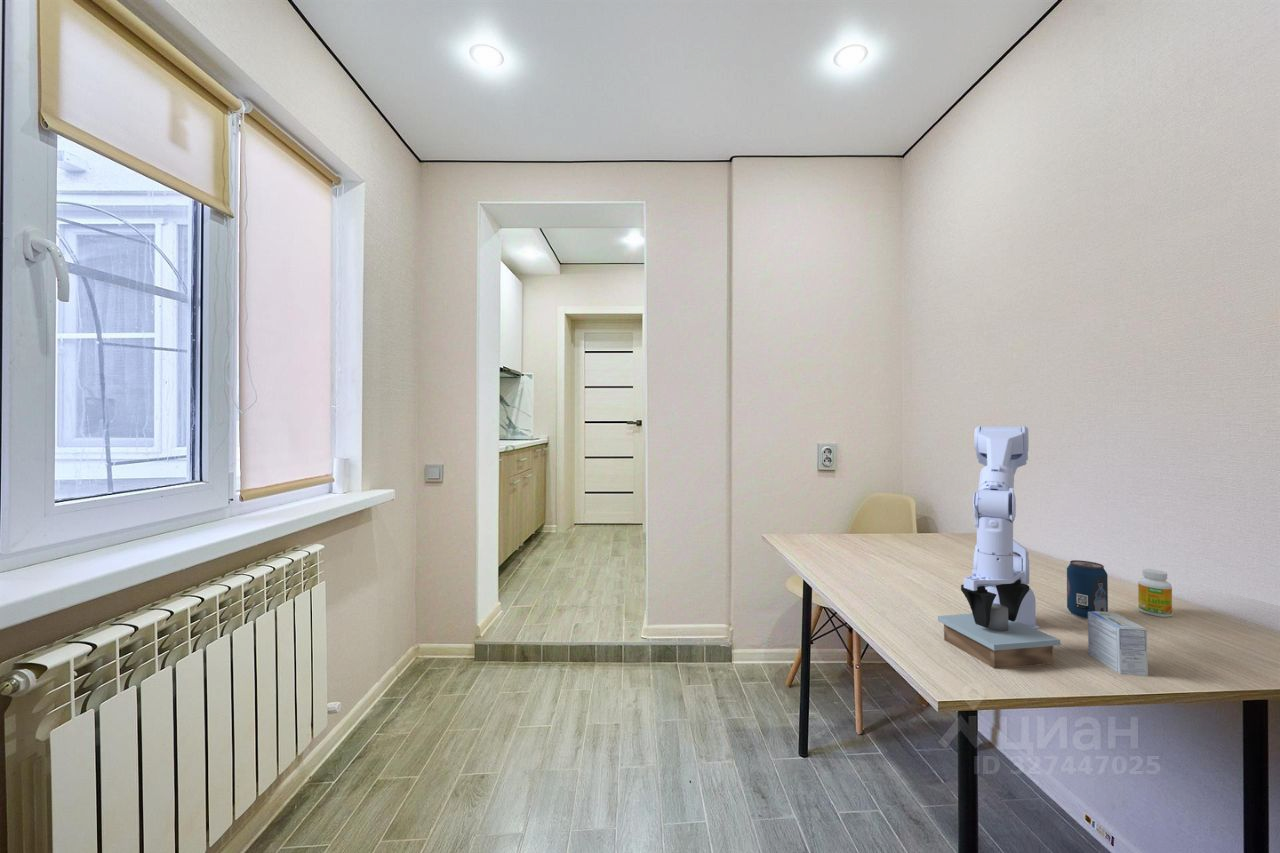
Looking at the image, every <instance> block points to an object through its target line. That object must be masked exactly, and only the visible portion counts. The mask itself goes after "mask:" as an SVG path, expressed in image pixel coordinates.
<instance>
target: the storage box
mask: <svg viewBox="0 0 1280 853" xmlns="http://www.w3.org/2000/svg"><path fill="white" fill-rule="evenodd" d="M943 632H944V633H943V640H944V641H945V642H947V643H948V644H951V645H952V646H954V647H955V648H957V649H959V650H961V651H963V652H965V653H966V654H968V655H970V656H971V657H973V658H974V659H977V660H979V661H981V662H982V663H983V664H985V665H987V666H989V667H990V668H992V669H994V670H995V669H1006V668H1019V667H1029V666H1030V667H1031V666H1041V665H1053V664H1054V650H1053V649H1054V646H1046V647H1033V648H1021V649H1008V650H996V651H994V650H992V649H990V648H988V647H986V646H984V645H983V644H981V643H979V642H977V641H975V640H973V639H971V638H969V637H967V636H966V635H964V634H962V633H960V632H958V631H956V630H954V629H952V628H950V627H949V626H947V625H945V624H943Z"/></svg>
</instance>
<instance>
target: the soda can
mask: <svg viewBox="0 0 1280 853" xmlns="http://www.w3.org/2000/svg"><path fill="white" fill-rule="evenodd" d="M1108 581H1109V580H1108V573H1107V571H1106V570H1105V566H1104V565H1103V564H1102V563H1097V562H1095V561H1093V562H1092V561H1088V560H1077V559H1075V560H1070V561H1069V564H1068V566H1066V607H1067V610H1068V611H1069V612H1070V613H1071V615H1073V617H1077V618H1080V619H1083V620H1087V621H1088V612H1092V611H1100V612H1109V600H1108V599H1109V597H1108V596H1109V594H1108V593H1109V592H1108V591H1109V590H1108V584H1109V583H1108Z"/></svg>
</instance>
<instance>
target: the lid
mask: <svg viewBox="0 0 1280 853" xmlns="http://www.w3.org/2000/svg"><path fill="white" fill-rule="evenodd" d="M937 622H940V623H941V624H943V625H944V624H945V625H947V626H949V627H950V628H952V629H954V630H956V631H958V632H960V633H962V634H964V635H966V636H967V637H969V638H971V639H973V640H975V641H977V642H979V643H981V644H983V645H984V646H986V647H988V648H990V649H992V650H994V651H996V650H1008V649H1021V648H1033V647H1046V646H1053V647H1056V646H1057V647H1058V646H1061V639H1060V638H1058V637H1054V636H1053V635H1050V634H1048V633H1046V632H1044V631H1041V630H1039V629H1038V628H1032V627H1030V626H1028V625H1025V624H1023V623H1021V622H1018V621H1016V620H1015V621H1010V620H1008V608H1007V607H1006V606H1004V605H1000V604H996V603H993V604H992V607H991V612H990V623H989V626H988V627H986V628H985V627H983V626H980V625H977V624H975V620H974V617H973V614H972V613H962V614H960V613H959V614H950V615H949V614H948V615H937Z"/></svg>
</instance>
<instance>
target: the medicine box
mask: <svg viewBox="0 0 1280 853" xmlns="http://www.w3.org/2000/svg"><path fill="white" fill-rule="evenodd" d="M1147 630H1148V629H1147V628H1146V627H1144V626H1141V625H1140V624H1138V623H1136V622H1134V621H1132V620H1130V619H1128V618H1126V617H1124V616H1122V615H1119V614H1118V613H1116V612H1112V611H1108V612H1100V611H1092V612H1088V620H1087V632H1088V634H1087V635H1088V636H1087V638H1088V641H1087V642H1088V644H1087V645H1088V654H1089V655H1090V656H1091V657H1092V658H1095V659H1096V660H1098V662H1100V663H1102V664H1104V665H1105V666H1107V667H1108V668H1109V669H1111V670H1113V671H1115V672H1116V673H1118V674H1119V675H1126V676H1127V675H1128V676H1139V677H1149V661H1148V656H1149V655H1148V633H1147V632H1148V631H1147Z"/></svg>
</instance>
